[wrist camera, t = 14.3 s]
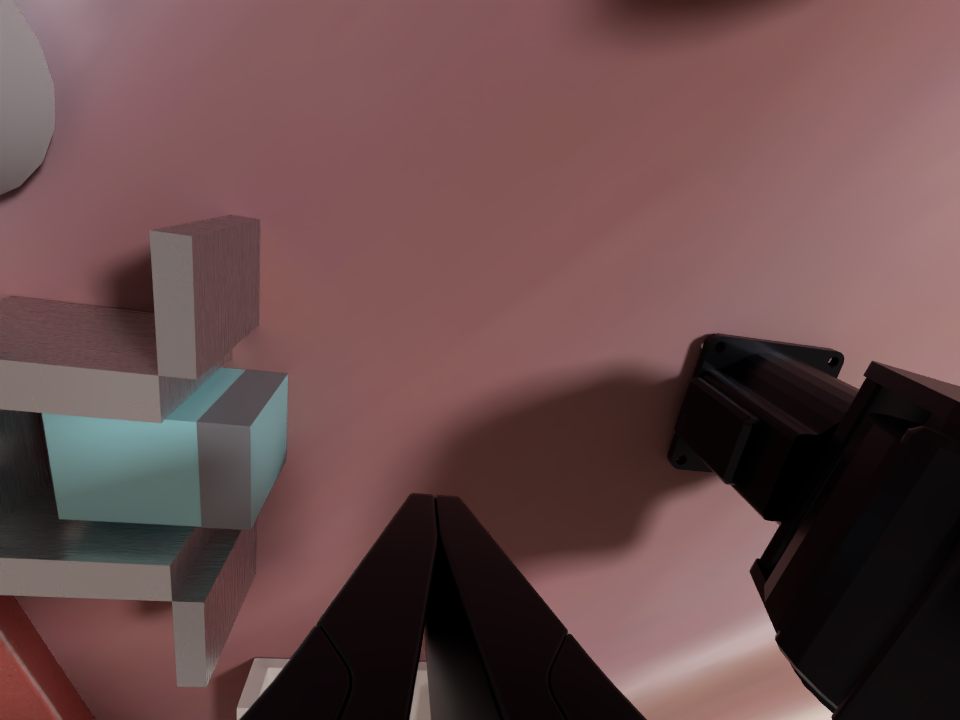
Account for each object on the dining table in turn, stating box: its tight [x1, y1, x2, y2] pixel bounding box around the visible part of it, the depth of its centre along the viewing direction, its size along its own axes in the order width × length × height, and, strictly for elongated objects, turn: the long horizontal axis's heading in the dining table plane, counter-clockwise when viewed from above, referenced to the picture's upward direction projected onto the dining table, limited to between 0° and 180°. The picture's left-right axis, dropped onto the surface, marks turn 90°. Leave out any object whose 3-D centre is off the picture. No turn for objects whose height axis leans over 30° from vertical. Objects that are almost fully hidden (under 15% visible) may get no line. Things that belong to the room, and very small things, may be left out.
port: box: [0, 215, 260, 687], centre depth 17 cm, size 8×16×6 cm, turn 171°
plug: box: [42, 368, 288, 530], centre depth 18 cm, size 7×4×4 cm, turn 81°
